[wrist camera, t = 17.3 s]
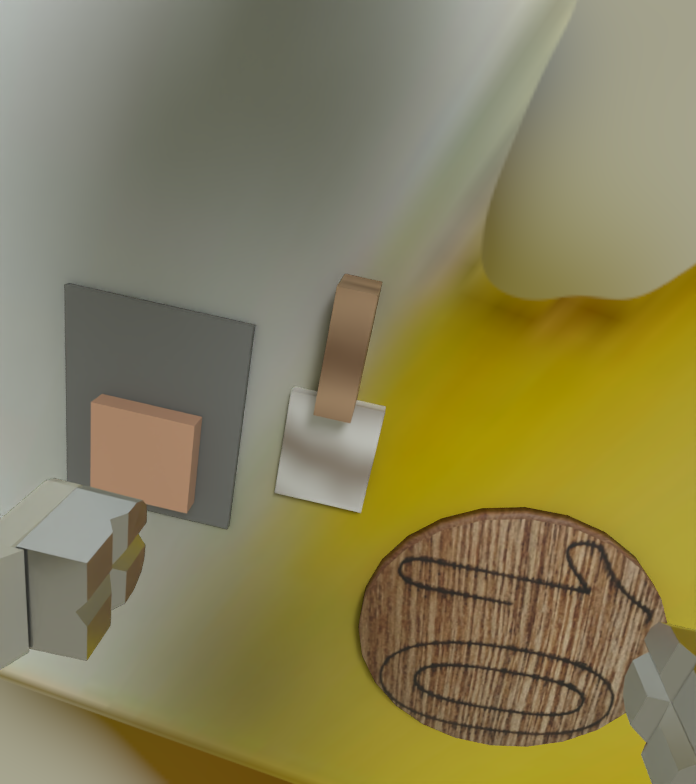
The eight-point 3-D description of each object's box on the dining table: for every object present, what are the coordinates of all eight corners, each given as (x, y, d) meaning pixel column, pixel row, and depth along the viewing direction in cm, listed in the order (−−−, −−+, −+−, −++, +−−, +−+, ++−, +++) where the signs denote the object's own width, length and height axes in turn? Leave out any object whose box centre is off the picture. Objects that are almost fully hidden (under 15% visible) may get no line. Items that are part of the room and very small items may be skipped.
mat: (68, 283, 41) (64, 284, 41) (255, 324, 41) (253, 326, 40) (70, 488, 48) (67, 491, 48) (229, 525, 48) (227, 529, 47)
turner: (313, 266, 39) (302, 278, 35) (414, 288, 38) (413, 302, 35) (277, 486, 46) (264, 514, 42) (361, 505, 46) (356, 536, 42)
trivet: (364, 491, 45) (362, 504, 44) (693, 518, 43) (705, 534, 41) (357, 709, 55) (355, 728, 53) (624, 742, 53) (631, 762, 51)
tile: (90, 402, 42) (90, 490, 45) (194, 426, 42) (186, 513, 45) (102, 393, 44) (101, 479, 47) (202, 415, 43) (194, 501, 47)
